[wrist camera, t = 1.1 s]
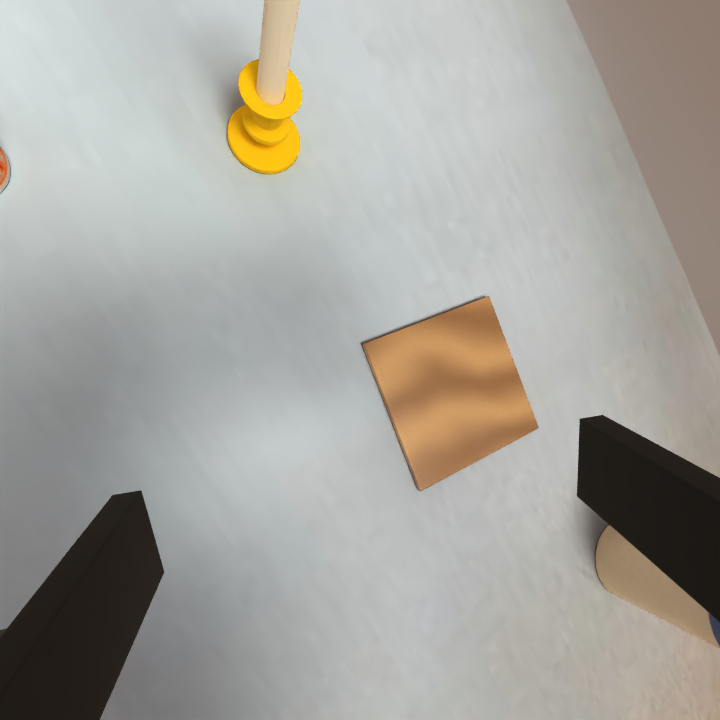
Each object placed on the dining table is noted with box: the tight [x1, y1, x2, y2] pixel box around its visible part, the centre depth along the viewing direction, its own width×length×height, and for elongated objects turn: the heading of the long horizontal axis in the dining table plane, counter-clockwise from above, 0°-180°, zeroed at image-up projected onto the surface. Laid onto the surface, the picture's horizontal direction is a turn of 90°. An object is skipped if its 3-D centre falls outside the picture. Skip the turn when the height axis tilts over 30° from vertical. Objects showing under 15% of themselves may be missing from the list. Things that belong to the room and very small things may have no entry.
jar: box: [596, 525, 720, 649], centre depth 32 cm, size 7×7×10 cm
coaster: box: [362, 296, 538, 491], centre depth 33 cm, size 12×12×1 cm
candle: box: [228, 0, 302, 174], centre depth 23 cm, size 5×5×16 cm
